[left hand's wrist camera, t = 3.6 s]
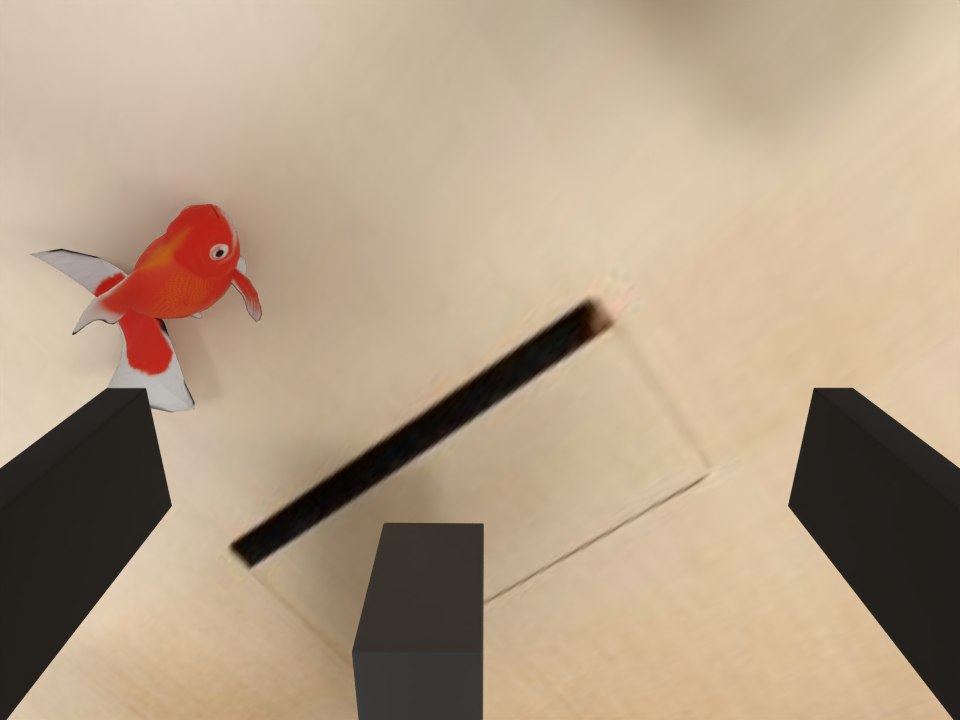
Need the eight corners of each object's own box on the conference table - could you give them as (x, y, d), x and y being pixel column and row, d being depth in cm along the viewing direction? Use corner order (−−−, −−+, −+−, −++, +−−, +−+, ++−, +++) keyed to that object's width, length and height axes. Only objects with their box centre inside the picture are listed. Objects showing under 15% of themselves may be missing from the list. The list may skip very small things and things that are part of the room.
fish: (348, 344, 35) (187, 395, 27) (206, 412, 44) (52, 465, 36) (274, 164, 35) (88, 161, 27) (146, 269, 44) (-23, 291, 36)
